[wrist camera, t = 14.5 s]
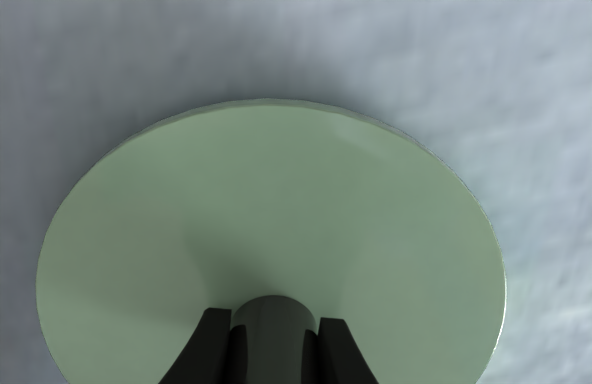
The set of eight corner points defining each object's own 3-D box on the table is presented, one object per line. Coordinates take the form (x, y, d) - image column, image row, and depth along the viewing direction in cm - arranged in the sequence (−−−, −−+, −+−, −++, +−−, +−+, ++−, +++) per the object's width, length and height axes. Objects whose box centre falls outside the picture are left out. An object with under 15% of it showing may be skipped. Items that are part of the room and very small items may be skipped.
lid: (557, 122, 12) (714, 228, 8) (432, 457, 18) (480, 631, 14) (27, 60, 12) (-142, 139, 7) (70, 433, 17) (-8, 609, 13)
